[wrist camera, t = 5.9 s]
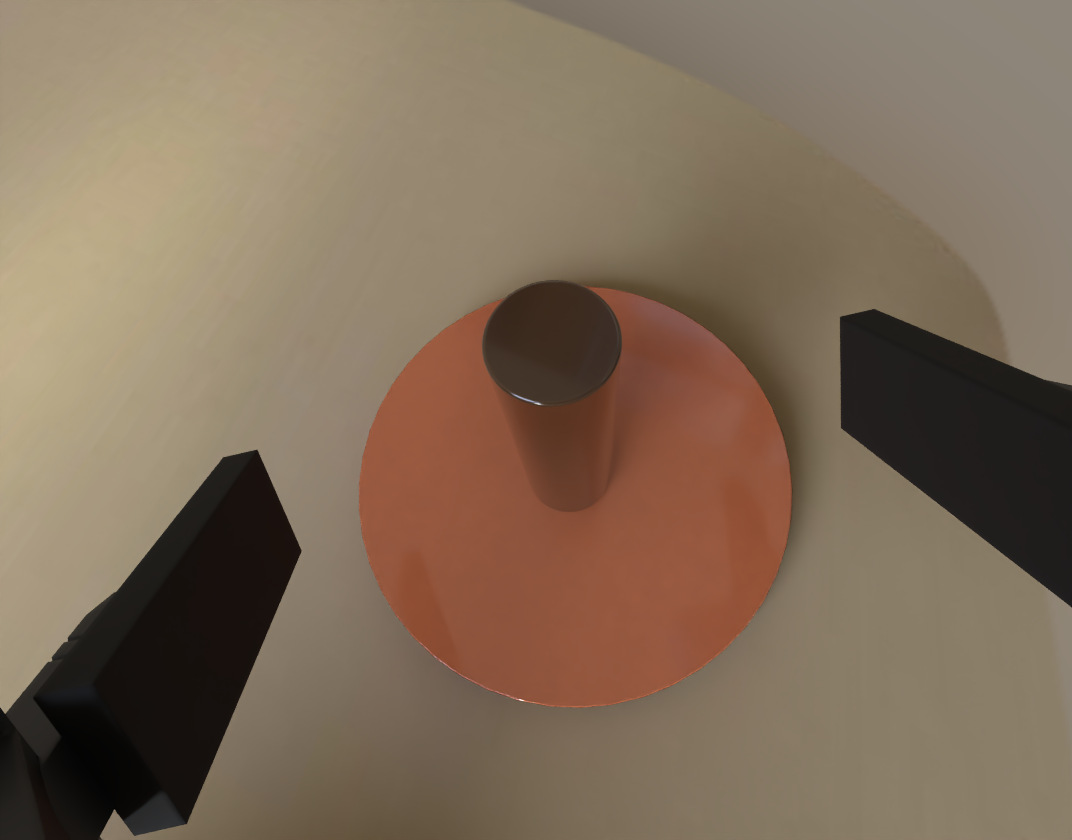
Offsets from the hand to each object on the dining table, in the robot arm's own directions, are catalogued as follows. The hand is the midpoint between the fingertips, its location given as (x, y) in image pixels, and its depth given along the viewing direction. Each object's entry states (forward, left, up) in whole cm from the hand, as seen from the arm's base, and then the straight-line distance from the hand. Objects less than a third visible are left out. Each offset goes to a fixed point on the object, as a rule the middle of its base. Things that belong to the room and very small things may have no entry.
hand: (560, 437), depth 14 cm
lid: (0, -1, -6) cm, 7 cm away
